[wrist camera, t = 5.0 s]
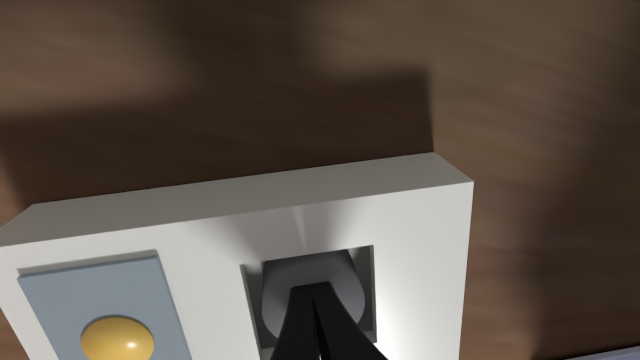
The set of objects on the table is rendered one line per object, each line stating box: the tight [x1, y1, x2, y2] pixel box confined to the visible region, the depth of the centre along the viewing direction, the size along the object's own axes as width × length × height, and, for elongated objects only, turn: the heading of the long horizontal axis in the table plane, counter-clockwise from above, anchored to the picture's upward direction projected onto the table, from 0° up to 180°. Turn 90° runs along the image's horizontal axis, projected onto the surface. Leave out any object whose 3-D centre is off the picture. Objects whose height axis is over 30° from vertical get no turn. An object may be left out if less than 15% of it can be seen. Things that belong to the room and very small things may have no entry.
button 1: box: [262, 249, 365, 338], centre depth 13 cm, size 4×4×2 cm
